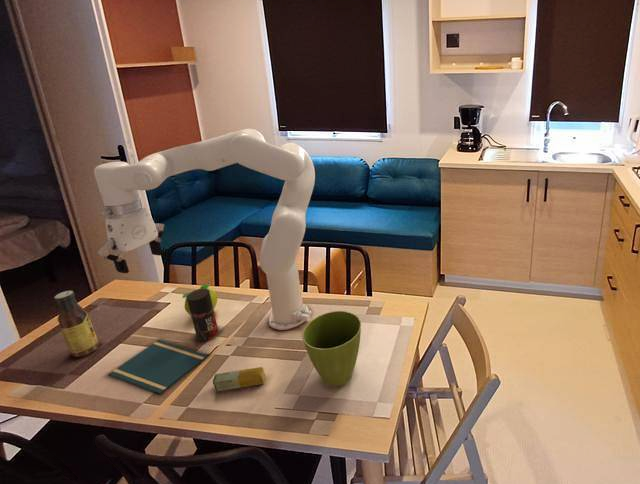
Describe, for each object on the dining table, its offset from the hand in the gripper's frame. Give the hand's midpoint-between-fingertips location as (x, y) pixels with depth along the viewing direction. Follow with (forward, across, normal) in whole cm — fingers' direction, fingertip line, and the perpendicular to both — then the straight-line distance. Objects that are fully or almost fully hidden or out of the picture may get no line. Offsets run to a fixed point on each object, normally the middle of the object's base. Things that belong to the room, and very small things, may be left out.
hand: (141, 263), depth 110 cm
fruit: (+29, +15, +1) cm, 32 cm away
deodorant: (+29, +7, -9) cm, 31 cm away
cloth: (+29, -7, -6) cm, 30 cm away
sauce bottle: (+29, -8, +21) cm, 37 cm away
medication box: (+29, -7, -34) cm, 45 cm away
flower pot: (+29, +2, -58) cm, 65 cm away
